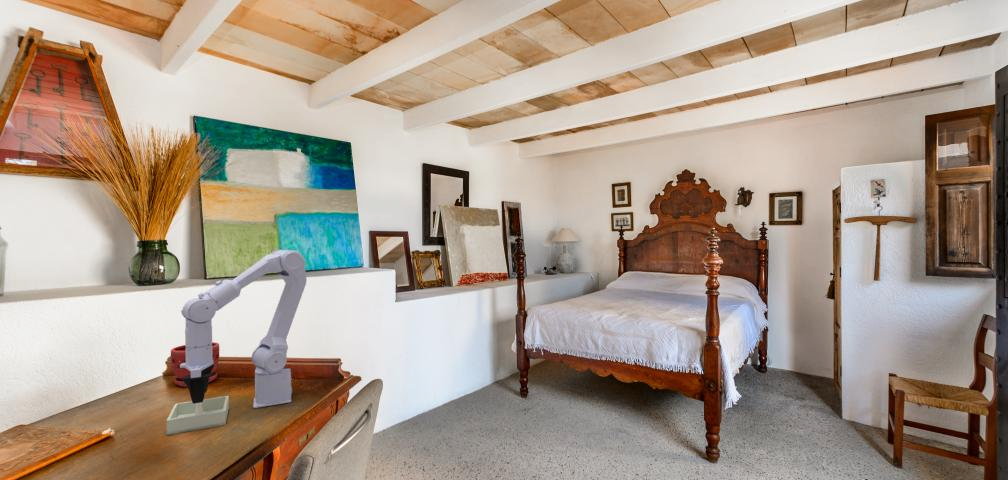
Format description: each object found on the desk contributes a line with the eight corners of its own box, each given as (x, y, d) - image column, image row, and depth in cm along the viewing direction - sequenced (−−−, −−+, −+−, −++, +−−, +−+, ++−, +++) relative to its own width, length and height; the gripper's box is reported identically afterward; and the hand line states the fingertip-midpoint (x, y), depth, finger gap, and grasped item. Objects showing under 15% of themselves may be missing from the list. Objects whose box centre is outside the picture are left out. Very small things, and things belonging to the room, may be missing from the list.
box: (228, 408, 123) (228, 395, 123) (225, 425, 112) (225, 410, 112) (175, 417, 117) (175, 403, 117) (166, 435, 107) (166, 420, 106)
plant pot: (229, 376, 151) (228, 341, 151) (197, 390, 138) (197, 351, 138) (194, 374, 152) (194, 340, 152) (160, 388, 139) (159, 350, 139)
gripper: (184, 341, 119) (185, 391, 119) (175, 354, 106) (175, 410, 106) (215, 338, 122) (216, 387, 122) (210, 350, 109) (211, 404, 110)
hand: (199, 397), depth 115 cm, fingers open, 7 cm apart
